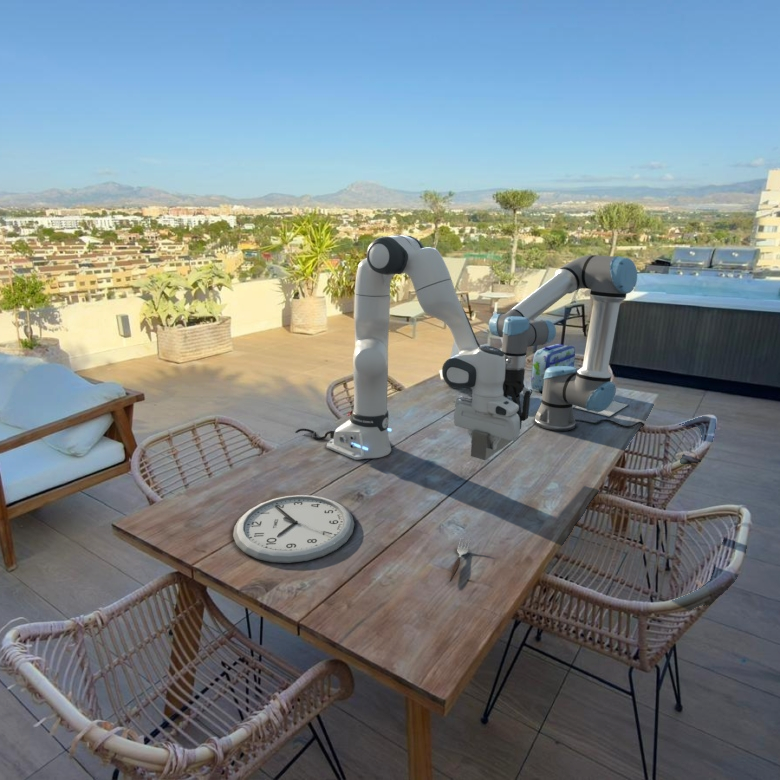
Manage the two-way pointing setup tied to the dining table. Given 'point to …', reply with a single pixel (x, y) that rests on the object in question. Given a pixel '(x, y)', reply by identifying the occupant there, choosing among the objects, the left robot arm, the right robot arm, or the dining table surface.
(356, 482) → the dining table surface
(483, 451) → the bar
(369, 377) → the left robot arm
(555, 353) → the lunch box
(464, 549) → the fork
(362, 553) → the dining table surface
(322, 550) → the wall clock
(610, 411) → the invitation card
